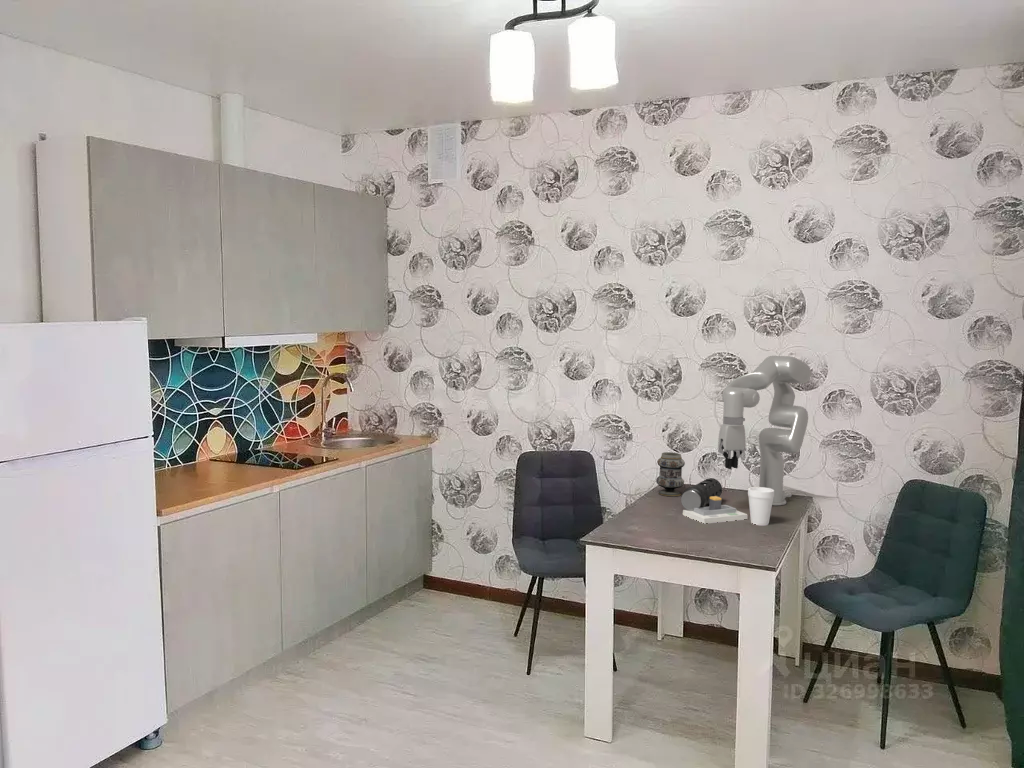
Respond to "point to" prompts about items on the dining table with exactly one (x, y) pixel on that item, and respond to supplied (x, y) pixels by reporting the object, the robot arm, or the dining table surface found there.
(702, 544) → the dining table surface
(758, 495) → the foam cup
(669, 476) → the apothecary jar
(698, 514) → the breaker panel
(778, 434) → the robot arm
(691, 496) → the muzzle brake
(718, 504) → the breaker lever
